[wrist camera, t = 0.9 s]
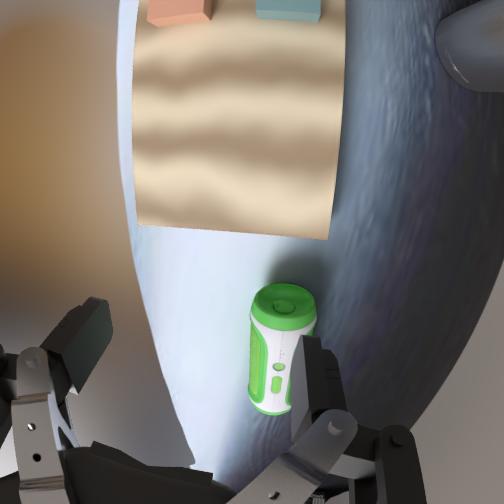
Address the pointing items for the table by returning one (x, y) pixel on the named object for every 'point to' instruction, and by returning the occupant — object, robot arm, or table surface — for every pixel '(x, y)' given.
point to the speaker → (277, 343)
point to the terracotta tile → (178, 11)
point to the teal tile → (289, 10)
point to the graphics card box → (316, 498)
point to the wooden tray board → (238, 120)
